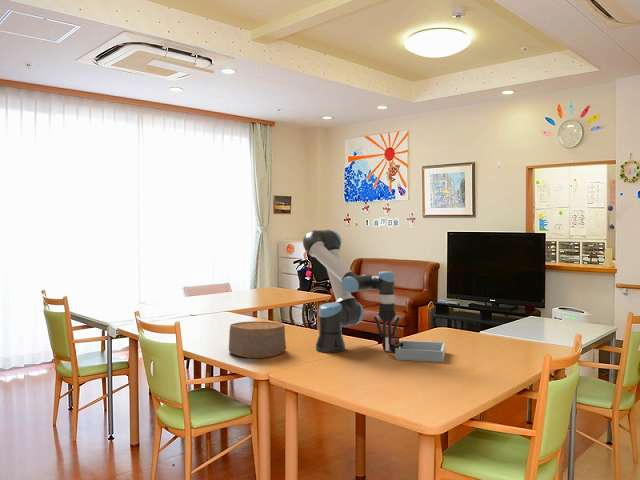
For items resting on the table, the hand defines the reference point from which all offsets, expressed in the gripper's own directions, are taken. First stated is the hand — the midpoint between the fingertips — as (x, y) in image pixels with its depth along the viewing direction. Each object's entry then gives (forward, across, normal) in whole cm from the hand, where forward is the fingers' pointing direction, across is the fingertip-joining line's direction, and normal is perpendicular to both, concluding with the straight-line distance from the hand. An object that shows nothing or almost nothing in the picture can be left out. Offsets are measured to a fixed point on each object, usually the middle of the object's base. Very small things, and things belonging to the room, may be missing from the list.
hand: (387, 350), depth 268 cm
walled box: (+2, +16, 0) cm, 16 cm away
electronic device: (-2, +2, +2) cm, 3 cm away
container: (+2, -64, -14) cm, 65 cm away
